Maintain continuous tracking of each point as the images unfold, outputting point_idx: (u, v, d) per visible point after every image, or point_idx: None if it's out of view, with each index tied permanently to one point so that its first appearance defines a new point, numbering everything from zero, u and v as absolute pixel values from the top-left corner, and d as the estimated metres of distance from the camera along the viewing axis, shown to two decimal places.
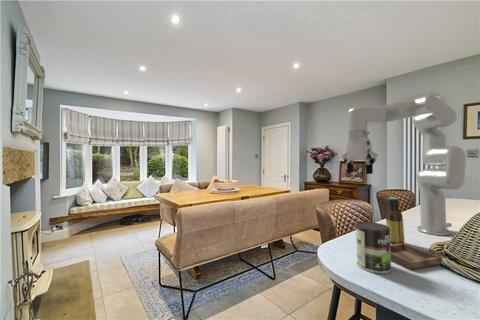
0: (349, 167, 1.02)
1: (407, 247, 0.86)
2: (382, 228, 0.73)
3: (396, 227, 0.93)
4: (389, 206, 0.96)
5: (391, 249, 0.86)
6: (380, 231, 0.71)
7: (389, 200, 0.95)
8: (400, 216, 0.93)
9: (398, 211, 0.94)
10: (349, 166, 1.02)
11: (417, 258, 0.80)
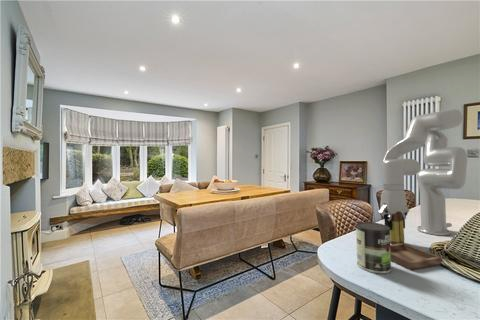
0: None
1: (407, 247, 0.86)
2: (382, 228, 0.73)
3: (396, 227, 0.93)
4: None
5: (391, 249, 0.86)
6: (380, 231, 0.71)
7: None
8: (400, 216, 0.93)
9: (398, 211, 0.94)
10: None
11: (417, 258, 0.80)
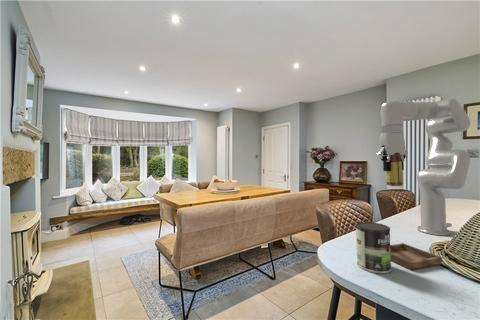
0: None
1: (407, 247, 0.86)
2: (382, 228, 0.73)
3: (394, 168, 0.93)
4: None
5: (391, 249, 0.86)
6: (380, 231, 0.71)
7: None
8: (399, 157, 0.93)
9: None
10: None
11: (417, 258, 0.80)
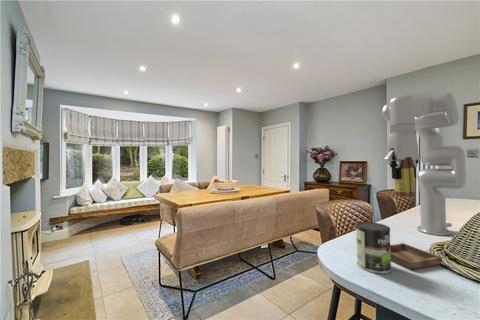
0: None
1: (407, 247, 0.86)
2: (382, 228, 0.73)
3: (405, 175, 0.78)
4: None
5: (391, 249, 0.86)
6: (380, 231, 0.71)
7: None
8: (411, 162, 0.78)
9: None
10: None
11: (417, 258, 0.80)
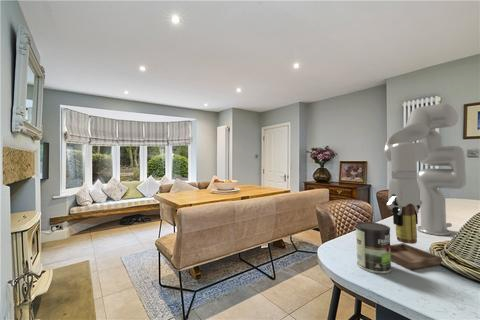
0: None
1: (407, 247, 0.86)
2: (382, 228, 0.73)
3: (407, 222, 0.78)
4: None
5: (391, 249, 0.86)
6: (380, 231, 0.71)
7: None
8: (412, 209, 0.78)
9: None
10: None
11: (417, 258, 0.80)
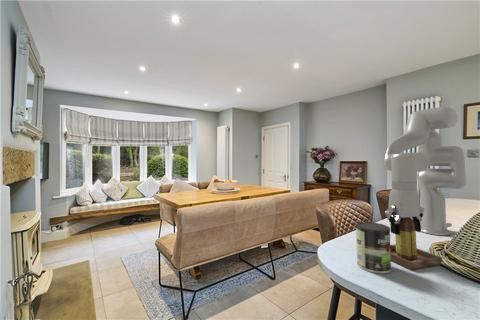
0: None
1: None
2: (382, 228, 0.73)
3: (407, 238, 0.78)
4: None
5: (391, 249, 0.86)
6: (380, 231, 0.71)
7: None
8: (412, 225, 0.78)
9: (410, 219, 0.79)
10: None
11: (417, 258, 0.80)
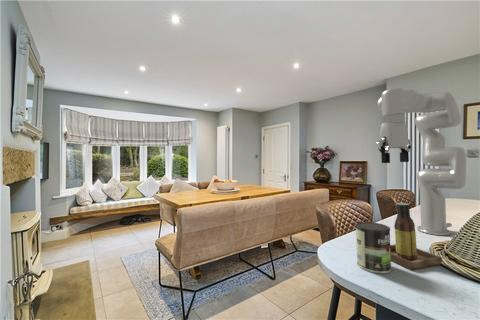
0: None
1: None
2: (382, 228, 0.73)
3: (407, 238, 0.78)
4: (399, 213, 0.81)
5: (391, 249, 0.86)
6: (380, 231, 0.71)
7: (399, 206, 0.80)
8: (412, 225, 0.78)
9: (409, 219, 0.79)
10: None
11: (417, 258, 0.80)
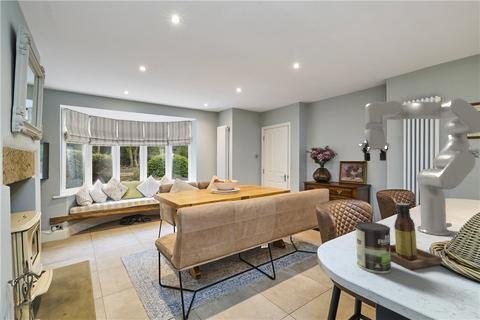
0: None
1: None
2: (382, 228, 0.73)
3: (407, 238, 0.78)
4: (398, 213, 0.81)
5: (391, 249, 0.86)
6: (380, 231, 0.71)
7: (399, 206, 0.80)
8: (412, 225, 0.78)
9: (409, 219, 0.79)
10: None
11: (417, 258, 0.80)
